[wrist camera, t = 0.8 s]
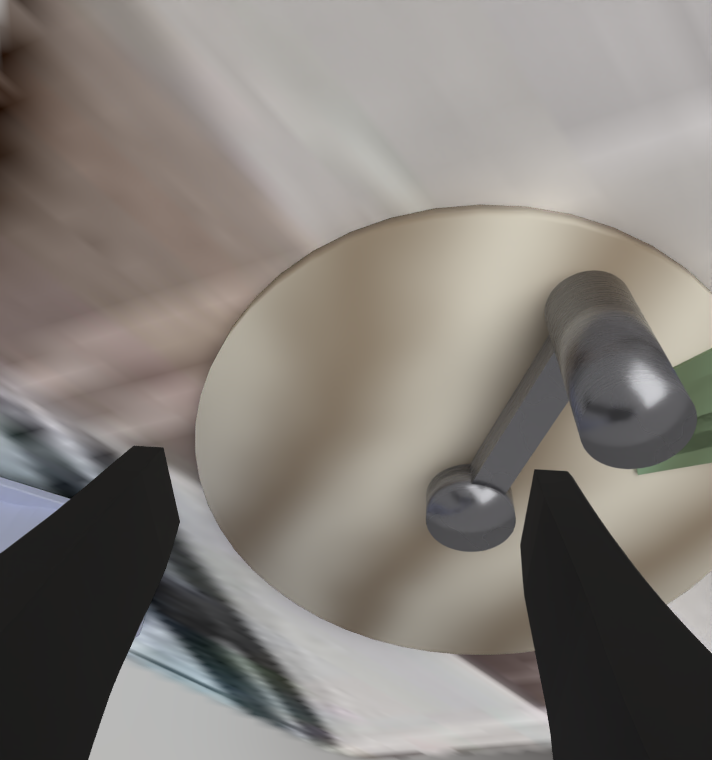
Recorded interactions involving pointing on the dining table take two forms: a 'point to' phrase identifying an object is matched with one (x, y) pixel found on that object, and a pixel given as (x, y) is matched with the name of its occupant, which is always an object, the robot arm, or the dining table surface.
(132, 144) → the dining table surface
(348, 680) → the dining table surface
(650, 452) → the lever
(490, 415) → the dial board
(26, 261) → the dining table surface
